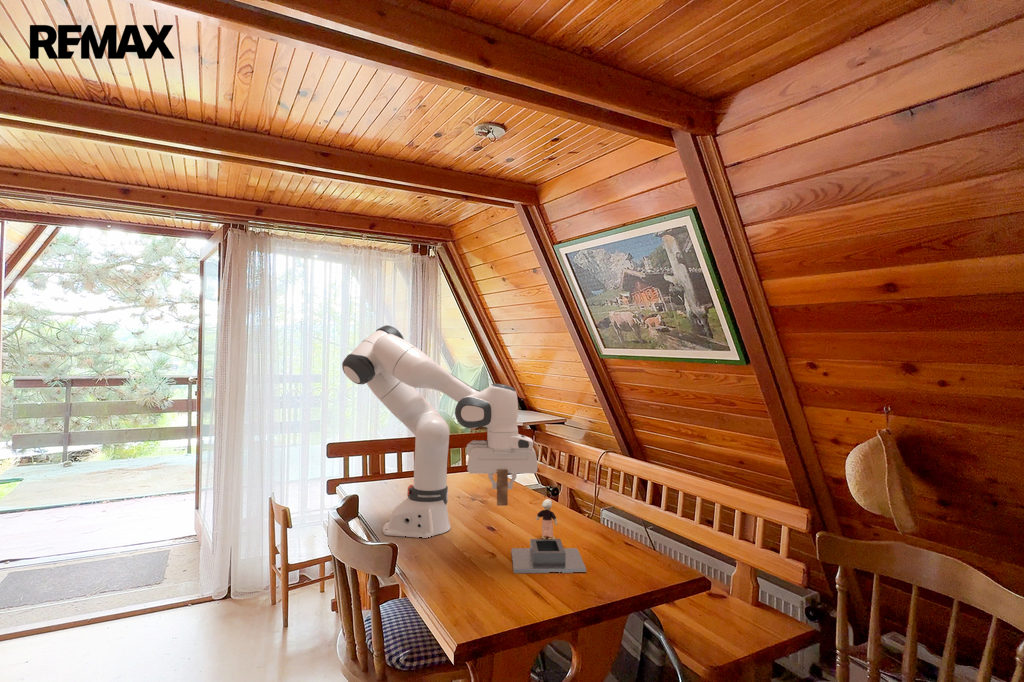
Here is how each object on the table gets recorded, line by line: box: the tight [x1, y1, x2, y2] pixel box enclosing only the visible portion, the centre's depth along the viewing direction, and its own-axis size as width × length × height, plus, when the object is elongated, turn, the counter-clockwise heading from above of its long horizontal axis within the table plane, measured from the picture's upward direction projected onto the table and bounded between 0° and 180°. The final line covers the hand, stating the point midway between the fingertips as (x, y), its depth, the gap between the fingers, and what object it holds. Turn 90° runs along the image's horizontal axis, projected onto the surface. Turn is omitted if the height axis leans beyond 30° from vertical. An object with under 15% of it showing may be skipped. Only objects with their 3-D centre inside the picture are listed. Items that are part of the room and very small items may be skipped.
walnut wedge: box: [496, 470, 509, 507], centre depth 154 cm, size 3×5×10 cm, turn 2°
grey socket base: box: [511, 538, 587, 574], centre depth 155 cm, size 20×15×5 cm
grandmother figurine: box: [535, 498, 558, 539], centre depth 174 cm, size 8×4×13 cm, turn 71°
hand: (502, 488), depth 154 cm, fingers closed on walnut wedge, 3 cm apart
